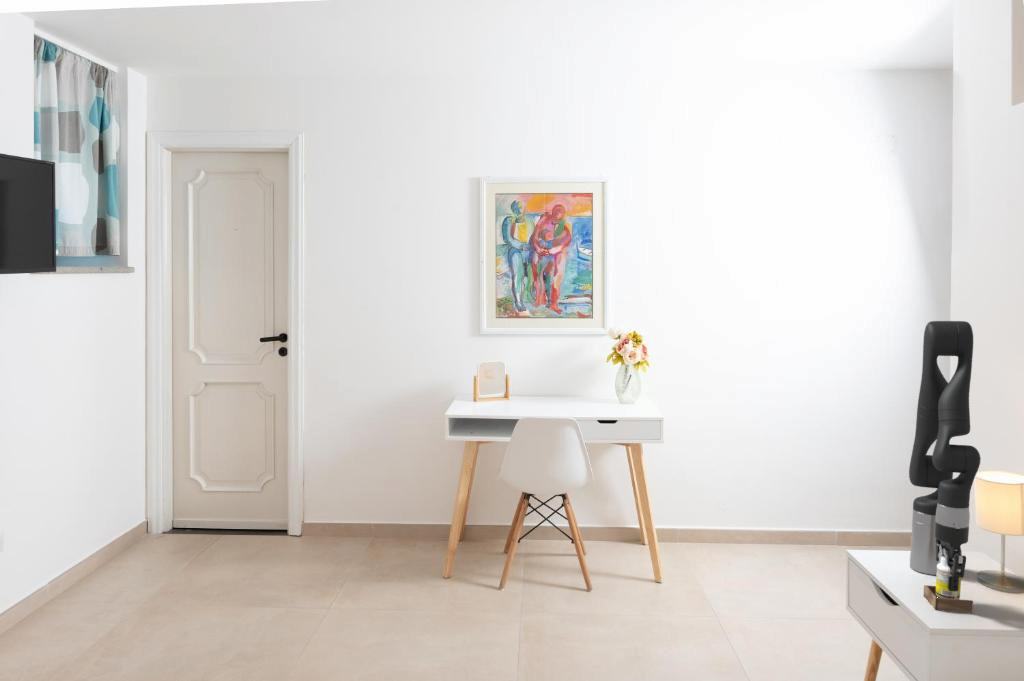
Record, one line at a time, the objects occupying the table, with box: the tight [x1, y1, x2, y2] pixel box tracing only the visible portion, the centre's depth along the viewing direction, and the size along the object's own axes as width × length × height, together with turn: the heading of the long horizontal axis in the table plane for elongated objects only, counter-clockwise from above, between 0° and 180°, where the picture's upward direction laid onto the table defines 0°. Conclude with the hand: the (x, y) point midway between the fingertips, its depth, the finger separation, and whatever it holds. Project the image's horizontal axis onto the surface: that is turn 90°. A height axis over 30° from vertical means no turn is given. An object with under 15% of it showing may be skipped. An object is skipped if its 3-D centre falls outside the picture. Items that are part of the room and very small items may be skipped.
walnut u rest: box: [923, 584, 974, 614], centre depth 202 cm, size 9×9×3 cm
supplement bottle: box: [935, 556, 962, 600], centre depth 202 cm, size 6×6×10 cm
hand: (948, 585), depth 202 cm, fingers closed on supplement bottle, 5 cm apart
